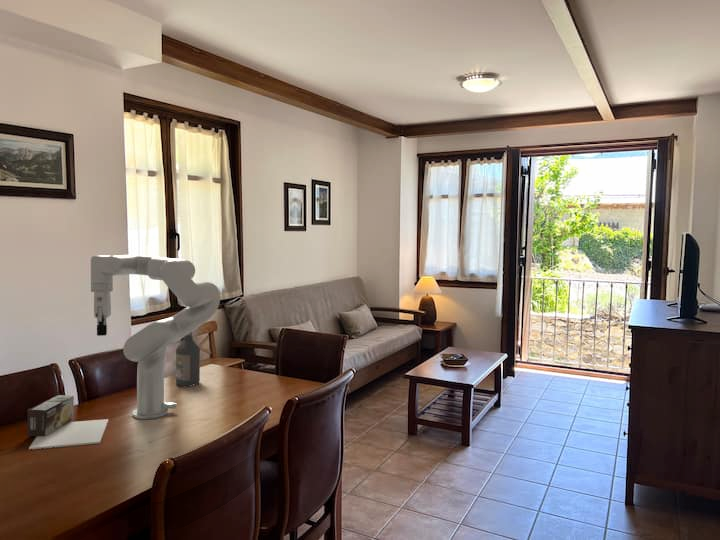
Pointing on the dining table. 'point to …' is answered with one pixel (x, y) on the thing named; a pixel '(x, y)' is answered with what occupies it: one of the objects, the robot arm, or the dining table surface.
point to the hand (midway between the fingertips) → (101, 335)
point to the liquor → (188, 362)
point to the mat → (72, 435)
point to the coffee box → (50, 415)
